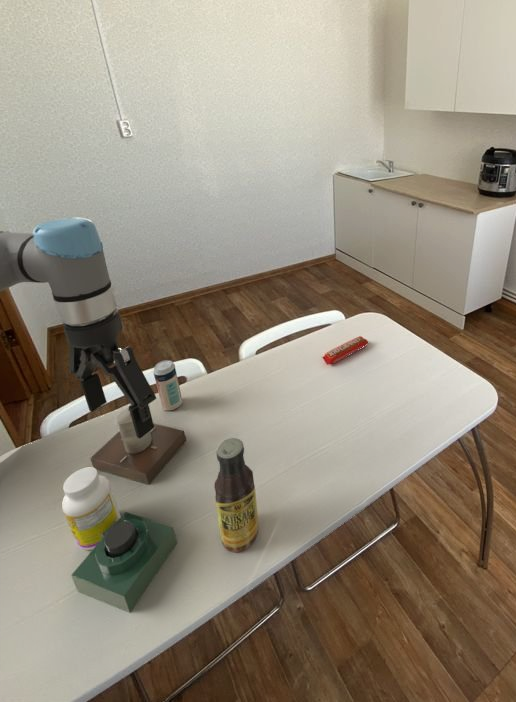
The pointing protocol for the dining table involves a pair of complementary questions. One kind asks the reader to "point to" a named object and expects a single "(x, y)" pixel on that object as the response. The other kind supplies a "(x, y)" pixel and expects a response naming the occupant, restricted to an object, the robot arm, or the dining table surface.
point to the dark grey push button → (120, 539)
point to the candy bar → (344, 350)
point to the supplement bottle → (89, 507)
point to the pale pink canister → (167, 385)
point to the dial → (131, 434)
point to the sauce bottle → (235, 497)
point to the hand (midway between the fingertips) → (121, 419)
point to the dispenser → (126, 564)
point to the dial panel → (140, 455)
